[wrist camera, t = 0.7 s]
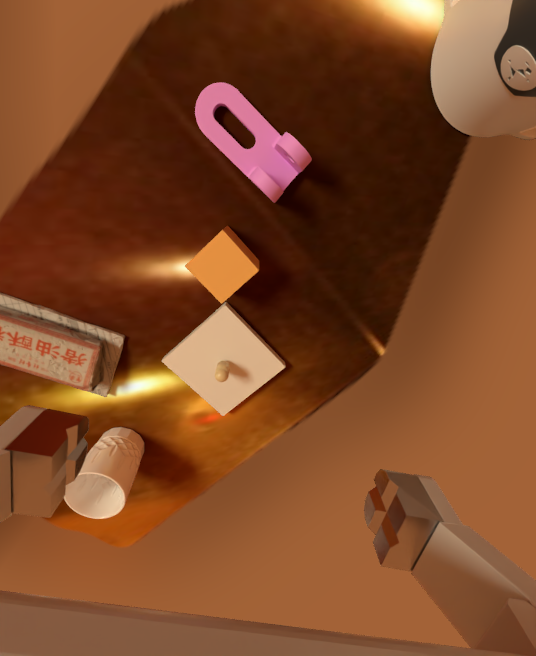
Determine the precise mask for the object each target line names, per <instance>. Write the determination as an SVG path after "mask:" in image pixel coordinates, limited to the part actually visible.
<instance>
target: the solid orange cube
mask: <svg viewBox="0 0 536 656" xmlns="http://www.w3.org/2000/svg"><path fill="white" fill-rule="evenodd" d="M185 267H186V268H187V269H188V270H189V271H190V272H191V273H192V274H193V275H194V276H195V277H196V278H197V279H198V280H199V281H200V282H201V283H202V284H203V285H204V286H205V287H206V288H207V289H208V290H209V291H210V292H211V293H212V294H213V295H214V297H215V298H216V299H217V300H218V301H219V302H220V303H221V304H222V303H223V302H224V301H225V300H226V299H227V298H229V297H230V296H231V295H232V294H233V293H234V292H235V291H237V290H238V289H239V288H240V287H241V286H242V285H243V284H244V283H246V282H247V281H248V280H249V279H250V278H251V277H252V276H253V275H255V274H256V273H257V272H258V271H259V260H258V259H257V258H256V256H255V255H254V254H253V253H252V252H251V251H250V250H249V249H248V247H247V246H246V245H245V244H244V243H243V242H242V241H241V240H240V239H239V237H238V236H237V235H236V234H235V233H234V232H233V231H232V230H231V228H230V227H229V226H226V227H225V228H224V229H223V230H222V231H221V232H220V233H219V234H218V235H217V236H216V237H215V238H214V239H213V240H212V241H211V242H210V243H208V244H207V245H206V246H205V247H204V248H203V249H202V250H201V251H200V252H199V253H198V254H197V255H196V256H195V257H194V258H193V259H192V260H191V261H190V262H189V263H187V264H186V265H185Z"/></svg>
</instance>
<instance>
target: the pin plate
mask: <svg viewBox="0 0 536 656" xmlns="http://www.w3.org/2000/svg"><path fill="white" fill-rule="evenodd" d="M162 362H163V363H164V364H165V365H166V366H168V367H169V368H170V369H171V370H172V371H173V372H174V373H175V374H176V375H178V376H179V377H180V378H181V379H182V380H183V381H184V382H185V383H187V384H188V385H189V386H190V387H191V388H192V389H193V390H194V391H195V392H197V393H198V394H199V395H200V396H201V397H202V398H203V399H204V400H206V401H207V402H208V403H209V404H210V405H211V406H212V407H213V408H214V409H216V410H217V411H218V412H219V413H220V414H221V415H222V416H224V415H225V414H227V413H228V412H229V411H230V410H232V409H233V408H234V407H235V406H237V405H238V404H239V403H241V402H242V401H243V400H244V399H246V398H247V397H248V396H249V395H251V394H252V393H253V392H255V391H256V390H257V389H258V388H260V387H261V386H262V385H263V384H265V383H266V382H267V381H269V380H270V379H271V378H272V377H274V376H275V375H276V374H277V373H279V372H280V371H281V370H283V369H284V368H285V367H286V366H285V362H284V361H283V360H282V359H281V358H280V357H279V356H278V355H277V353H276V352H275V351H274V350H273V349H272V348H271V347H270V346H269V345H268V344H267V343H266V342H265V341H264V340H263V339H262V338H261V337H260V336H259V335H258V334H257V333H256V332H255V331H254V330H253V329H252V328H251V327H250V326H249V325H248V324H247V323H246V322H245V321H244V320H243V318H242V317H241V316H240V315H239V314H238V313H237V312H236V311H235V310H234V309H233V308H232V307H231V306H230V305H229V304H228V303H227V302H225V303H224V304H223V305H222V306H221V307H220V308H219V309H218V310H216V311H215V312H214V313H213V314H212V315H211V316H210V317H208V318H207V319H206V320H205V321H204V322H203V323H202V324H201V325H199V326H198V327H197V328H196V329H195V330H194V331H193V332H192V333H190V334H189V335H188V336H187V337H186V338H185V339H184V340H183V341H181V342H180V343H179V344H178V345H177V346H176V347H175V348H174V349H172V350H171V351H170V352H169V353H168V354H167V355H166V356H164V358H163V360H162Z"/></svg>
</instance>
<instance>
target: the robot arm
mask: <svg viewBox="0 0 536 656" xmlns="http://www.w3.org/2000/svg"><path fill="white" fill-rule="evenodd" d="M431 84H432V90H433V95H434V98H435V101H436V104H437V106H438V108H439V110H440V112H441V113H442V115H443V116H444V118H445V119H446V120H447V121H448V122H449V123H450V124H451V125H452V126H453V127H454V128H456V129H457V130H459V131H461V132H463V133H465V134H467V135H471V136H475V137H494V136H501V135H512V136H514V137H517V138H520V139H524V140H533V139H536V0H445V6H444V19H443V22H442V26H441V28H440V31H439V34H438V37H437V40H436V43H435V46H434V50H433V55H432V62H431ZM88 430H89V419H88V418H87V417H86V416H81V415H76V414H71V413H66V412H61V411H56V410H51V409H45V408H40V407H35V406H30V405H28V406H24V407H22V408H21V409H20V410H18V411H17V412H16V413H15V414H14V415H13V416H12V417H11V418H9V419H8V420H7V421H6V422H5V423H4V424H3V425H1V426H0V522H2V521H4V520H5V519H7V518H8V517H10V516H11V513H14V514H22V515H31V516H39V517H48V518H50V517H51V516H52V514H53V513H54V511H55V510H56V508H57V507H58V505H59V504H60V502H61V501H62V499H63V497H64V496H65V490H66V485H67V484H69V483H71V482H73V481H75V479H76V477H77V476H78V474H79V473H80V471H81V468H82V466H83V463H84V461H85V457H86V453H87V445H88V444H87V442H86V441H85V439H84V438H83V437H84V436H85V434H86V433H87V431H88ZM374 481H375V484H376V487H375V488H373V489H372V490H370V491H369V492H368V495H367V497H366V500H365V508H364V512H365V520H366V523H367V526H368V528H369V529H370V530H371V531H372V532H373V533H374V534H375V535H376V536H375V538H374V541H373V544H374V547H375V550H376V553H377V556H378V559H379V562H380V565H381V566H383V567H388V568H394V569H400V570H405V571H411V572H412V573H411V574H412V575H413V576H414V577H415V579H416V580H417V581H418V582H419V584H420V585H421V586H422V587H423V589H424V590H425V591H426V592H427V594H428V595H429V596H430V597H431V599H432V600H433V601H434V602H435V604H436V605H437V606H438V607H439V609H440V610H441V611H442V612H443V614H444V615H445V616H446V617H447V619H448V620H449V621H450V622H451V624H452V625H453V626H454V627H455V629H456V630H457V631H458V632H459V634H460V635H461V636H462V637H463V639H464V640H465V641H466V642H467V643H468V645H469V646H470V647H471V648H462V647H455V646H446V645H438V644H431V643H422V642H414V641H406V640H398V639H389V638H382V637H373V636H365V635H357V634H348V633H341V632H332V631H324V630H316V629H307V628H299V627H291V626H283V625H275V624H267V623H259V622H251V621H243V620H235V619H227V618H219V617H211V616H203V615H195V614H186V613H178V612H170V611H162V610H154V609H146V608H138V607H129V606H122V605H113V604H104V603H97V602H89V601H80V600H73V599H64V598H57V597H48V596H40V595H32V594H24V593H16V592H8V591H0V656H536V580H535V579H533V578H532V577H531V576H530V575H528V574H527V573H526V572H525V571H523V570H522V569H521V568H520V567H518V566H517V565H516V564H515V563H514V562H512V561H511V560H510V559H509V558H507V557H506V556H505V555H504V554H502V553H501V552H500V551H498V550H497V549H496V548H495V547H494V546H492V545H491V544H490V543H489V542H488V541H486V540H485V539H484V538H482V537H481V536H480V535H479V534H478V533H476V532H475V531H474V530H473V529H471V528H470V527H469V526H464V525H463V524H462V523H461V521H460V520H459V518H458V516H457V514H456V513H455V511H454V510H453V508H452V507H451V505H450V503H449V502H448V500H447V499H446V497H445V495H444V494H443V492H442V491H441V489H440V488H439V486H438V484H437V483H436V481H435V480H434V479H433V478H431V477H428V476H422V475H415V474H414V475H412V474H406V473H400V472H394V471H389V470H382V469H380V470H379V471H378V472H377V474H376V476H375V479H374Z"/></svg>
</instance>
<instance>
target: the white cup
mask: <svg viewBox="0 0 536 656" xmlns="http://www.w3.org/2000/svg"><path fill="white" fill-rule="evenodd" d="M143 453H144V441H143V440H142V438H141V436H140V435H139V434H137V433H136V432H135V431H133V430H132V429H128V428H124V427H118V428H112V429H110V430H108V431H107V432H105V433H104V434H103V435H102V437H101V438H100V440H99V441H98V442H97V443H96V444H95V445H94V446H93V448H92V449H91V450H90V451H89V453H88V454H87V455H86V457H85V461H84V463H83V466H82V468H81V471H80V473H79V474H78V476H77V477H76V479H75V481H73V482H71V483H69V484H67V485H66V490H65V496H64V499H65V501H66V503H67V504H68V506H69V507H70V508H71V509H73V510H74V511H75V512H77V513H78V514H80V515H83V516H85V517H89V518H94V519H104V518H109V517H112V516H114V515H116V514H118V513H119V512H120V511H121V510H122V509H123V507H124V505H125V503H126V500H127V497H128V495H129V492H130V489H131V487H132V484H133V482H134V479H135V477H136V473H137V471H138V468H139V465H140V461H141V458H142V456H143Z"/></svg>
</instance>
